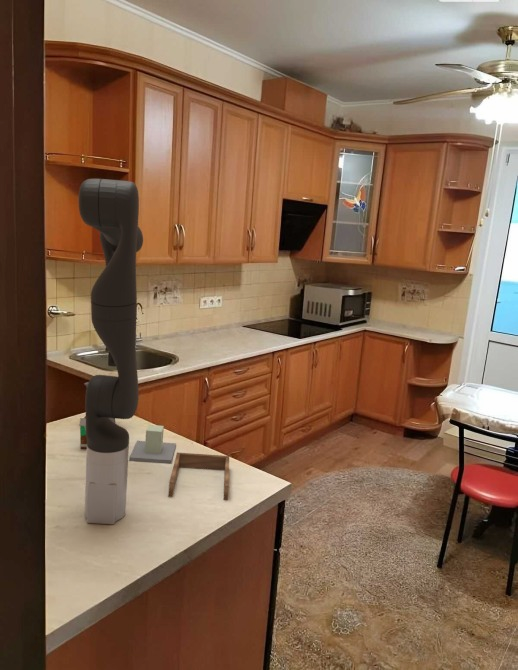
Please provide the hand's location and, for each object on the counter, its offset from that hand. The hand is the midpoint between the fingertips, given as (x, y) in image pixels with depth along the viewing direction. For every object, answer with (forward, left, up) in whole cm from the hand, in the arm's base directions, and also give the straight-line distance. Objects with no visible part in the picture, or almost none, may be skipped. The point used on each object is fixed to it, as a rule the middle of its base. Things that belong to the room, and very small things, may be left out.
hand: (116, 361), depth 138 cm
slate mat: (+10, -10, -30) cm, 33 cm away
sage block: (+10, -10, -29) cm, 32 cm away
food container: (+14, +8, -30) cm, 34 cm away
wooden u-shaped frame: (-6, -25, -30) cm, 40 cm away
